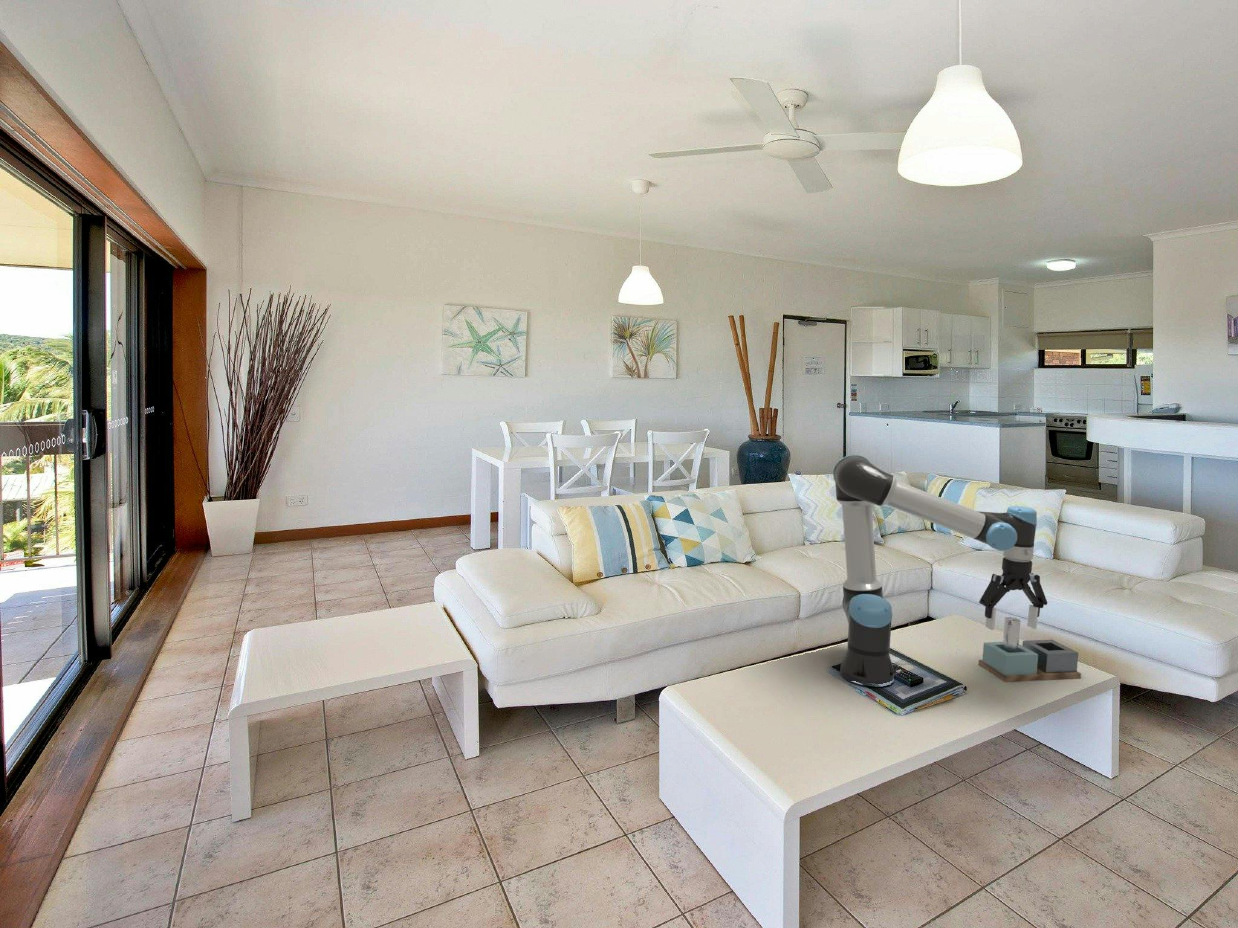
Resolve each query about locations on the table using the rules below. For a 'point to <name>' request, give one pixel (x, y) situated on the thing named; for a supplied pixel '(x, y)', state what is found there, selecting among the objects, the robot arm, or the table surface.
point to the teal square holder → (1010, 659)
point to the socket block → (1053, 656)
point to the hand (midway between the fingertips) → (1010, 627)
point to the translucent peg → (1011, 635)
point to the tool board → (1030, 675)
